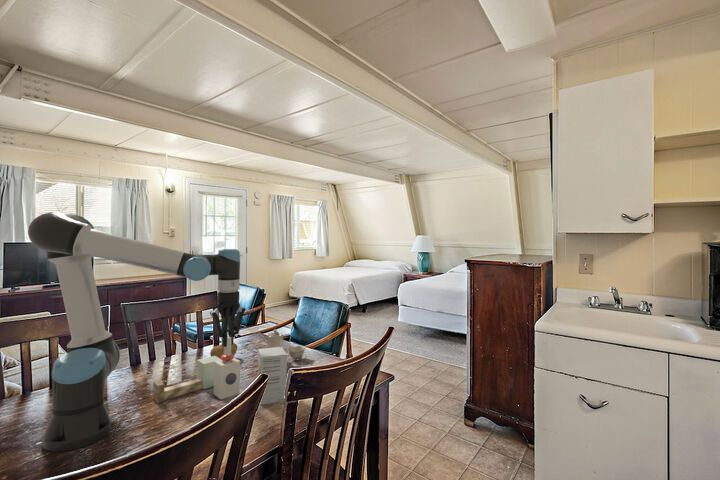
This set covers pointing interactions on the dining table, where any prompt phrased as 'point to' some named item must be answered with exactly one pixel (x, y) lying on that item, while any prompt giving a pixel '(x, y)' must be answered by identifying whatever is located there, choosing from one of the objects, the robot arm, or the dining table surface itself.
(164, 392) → the rail
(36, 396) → the dining table surface
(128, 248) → the robot arm
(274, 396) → the supplement box
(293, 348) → the chinaware
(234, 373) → the white tall block
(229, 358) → the button
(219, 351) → the potato
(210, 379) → the block
